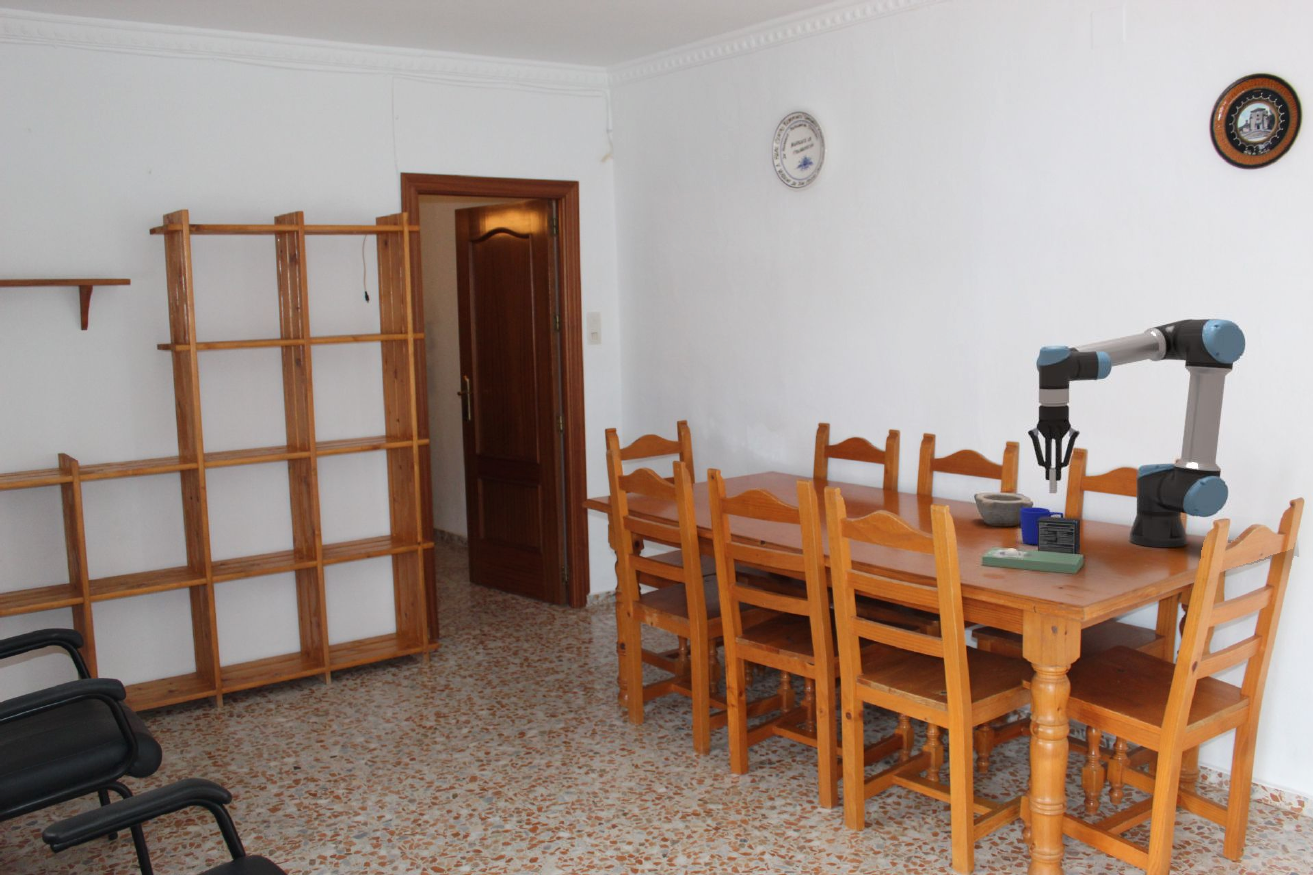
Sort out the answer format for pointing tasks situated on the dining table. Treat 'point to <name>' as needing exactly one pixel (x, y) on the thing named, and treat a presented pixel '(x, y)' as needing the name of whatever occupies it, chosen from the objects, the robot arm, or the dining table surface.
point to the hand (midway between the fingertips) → (1053, 492)
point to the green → (1034, 560)
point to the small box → (1059, 535)
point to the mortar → (1001, 507)
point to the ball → (1011, 552)
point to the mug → (1033, 522)
